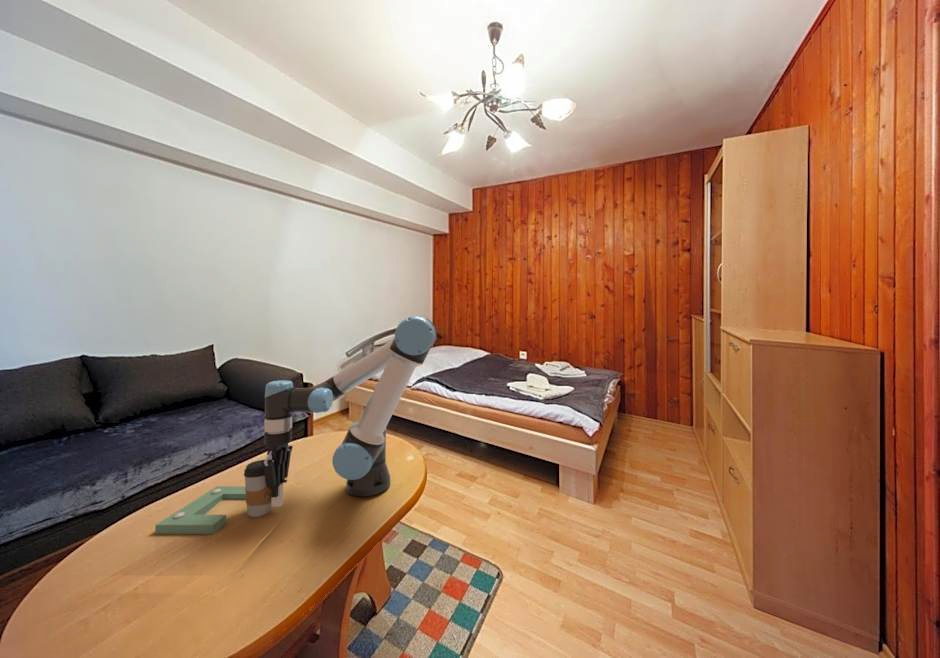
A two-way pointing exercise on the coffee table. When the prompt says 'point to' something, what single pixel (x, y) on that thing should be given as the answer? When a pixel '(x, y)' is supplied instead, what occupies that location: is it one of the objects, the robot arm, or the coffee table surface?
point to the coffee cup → (257, 490)
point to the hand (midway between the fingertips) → (277, 505)
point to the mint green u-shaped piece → (200, 513)
